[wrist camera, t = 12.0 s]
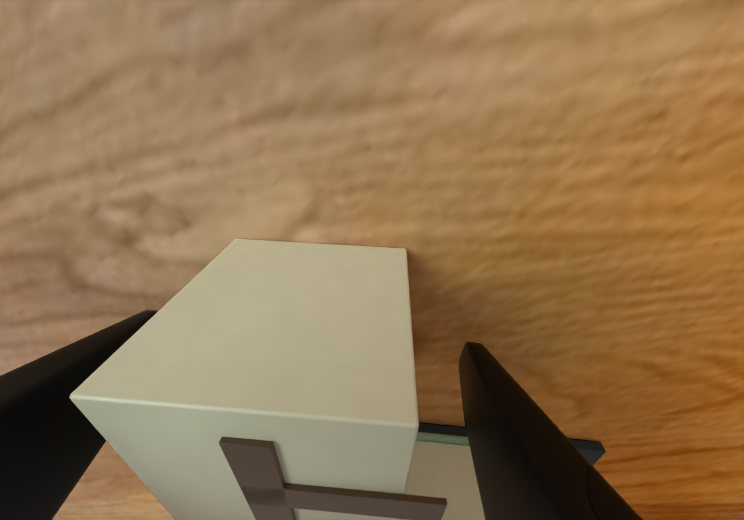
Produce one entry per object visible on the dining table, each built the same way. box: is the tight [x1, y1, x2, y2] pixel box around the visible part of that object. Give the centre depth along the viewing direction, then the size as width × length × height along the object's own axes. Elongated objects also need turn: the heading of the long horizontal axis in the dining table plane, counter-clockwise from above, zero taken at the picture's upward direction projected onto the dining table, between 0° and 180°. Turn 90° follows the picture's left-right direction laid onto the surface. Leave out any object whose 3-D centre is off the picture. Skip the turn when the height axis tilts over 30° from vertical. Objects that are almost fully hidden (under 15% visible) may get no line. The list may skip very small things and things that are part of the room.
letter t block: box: [69, 239, 447, 520], centre depth 7 cm, size 6×5×5 cm
